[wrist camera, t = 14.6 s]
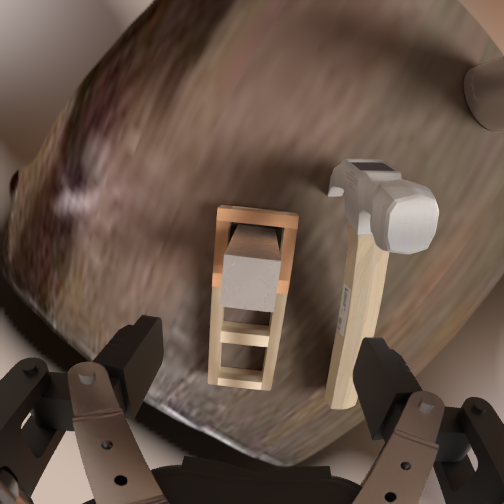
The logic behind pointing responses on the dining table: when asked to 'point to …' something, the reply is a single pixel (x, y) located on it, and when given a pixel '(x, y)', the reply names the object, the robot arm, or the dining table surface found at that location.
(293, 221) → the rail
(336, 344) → the hammer
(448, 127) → the dining table surface
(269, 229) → the steel peg
